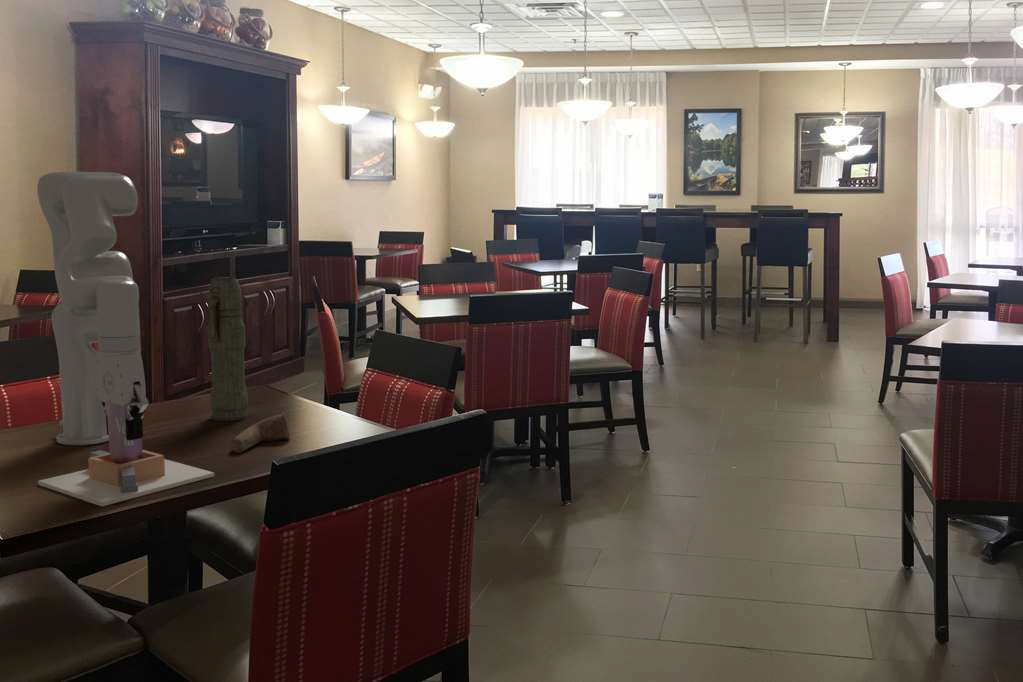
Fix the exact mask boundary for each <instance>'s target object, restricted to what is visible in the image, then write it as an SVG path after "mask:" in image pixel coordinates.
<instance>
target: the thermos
mask: <svg viewBox="0 0 1023 682" xmlns="http://www.w3.org/2000/svg"><path fill="white" fill-rule="evenodd" d="M210 281H211V282H210V284H209V287H208V303H207V318H208V321H207V322H208V325H207V340H208V349H209V352H210V360H211V361H210V362H211V366H210V367H211V388H210V392H209V394H210V408H211V419H212V420H214V421H219V422H220V421H221V422H231V421H239V420H244V419H246V418H248V417H249V413H248V408H249V396H248V395H249V392H248V389H247V386H246V379H245V378H246V376H245V348H246V345H247V344H246V327H245V324H244V320H243V301H242V300H243V299H242V288H241V285H240V283H239V280H238V278H235V277H234V276H215V277H214V278H211V280H210Z"/></svg>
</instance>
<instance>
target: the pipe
mask: <svg viewBox="0 0 1023 682" xmlns="http://www.w3.org/2000/svg"><path fill="white" fill-rule="evenodd" d="M290 439H291V435H290V431H289V428H288V424H287V418H286V414H285V412H281V413H279V414H276V415H272V416H269V417H266V418H264V419H262V420H260V421H257V422H255V423H254V424H252V425H251V426H249V427H247V428H246V429H245V430H243V431H242V432H240V433H238V435H237V436H235V438H233V440H232V441H231V443H230V448H231V450H232V451H233V452H234V453H243V452H245V451H247V450H248V449H250V448H253V447H254V446H255V445H258V444H259V443H261V442H274V441H275V442H276V441H283V440H287V441H289V440H290Z"/></svg>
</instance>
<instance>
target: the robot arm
mask: <svg viewBox="0 0 1023 682" xmlns="http://www.w3.org/2000/svg"><path fill="white" fill-rule="evenodd" d="M36 188H37V190H36V191H37V198H38V203H39V205H40V208H41V212H42V214H43V216H44V218H45V220H46V222H47V224H48V227H49V231H50V234H51V239H52V241H51V242H52V253H53V255H52V256H53V266H54V277H55V282H56V285H57V290H58V294H59V299H60V304H58V305H56V306H55V307H54V309H52V312H51V326H52V330H53V335H54V339H55V343H56V349H57V357H58V367H59V371H58V372H59V382H60V396H61V397H60V398H61V411H62V412H61V413H62V420H60V421H59V426H61V427H63V430H62V431H63V432H61V433H59V434H58V435H56V437H55V438H56V439H55V440H56V443H58V444H61V445H63V446H64V445H65V446H87V445H95V444H102V443H106V442H109V434H108V417H107V400H111V401H112V404H115V405H117V406H125V410H126V414H127V418H128V420H126V437H127V440H129V441H130V440H135V439H140V438H142V439H143V438H144V430H143V429H144V428H143V418H144V415H145V414H144V413H145V412H146V409H147V408H148V406H149V404H150V403H149V400H148V398H147V396H146V392H147V391H146V379H145V371H144V363H143V358H142V355H141V352H142V343H141V326H140V324H141V323H140V321H141V320H140V306H139V301H140V293H139V292H140V290H139V286H138V284H137V283H136V281H134V279H133V277H134V276H133V270H132V265H131V262H130V259H129V258H128V256H127V255H126V254H125V253H123V252H121V251H118V250H110V249H111V248H113V247H114V245H115V244H116V242H117V239H118V234H117V229H116V227H115V222H114V218H113V217H128V216H129V217H130V216H132V215H134V214H135V213H136V212H137V210H138V205H139V198H138V197H139V196H138V192H137V189H136V187H135V184H134V182H133V181H132V180H131V178H129V177H128V176H127V175H124V174H121V173H118V172H107V171H105V172H104V171H99V172H98V171H97V172H96V171H94V172H93V171H55V172H50V173H45V174H44V175H42V176H40V178H39V179H38V182H37V187H36ZM93 343H94V344H96V343H97V344H98V351H97V350H96V349H95V348H94V347H93V346H92V344H93ZM134 399H136V402H133V403H130V402H131V400H134ZM132 406H136V407H135V408H134V410H133V411H132V410H131V407H132Z"/></svg>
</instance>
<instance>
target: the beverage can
mask: <svg viewBox="0 0 1023 682" xmlns="http://www.w3.org/2000/svg"><path fill="white" fill-rule="evenodd" d="M133 402H136V399H134V400H131V402H130V403H133ZM135 407H136V406H132V407H131V410H132V411H133V410H134V408H135ZM107 417H108V434H109V441H108V447H109V453H110V462H112V463H116V464H123V463H127V462H132V461H136V460H140V459H143V451H142V450H143V437H142V438H140V439H135V440H130V441H129V440H127V437H126V420H128V418H127V414H126V410H125V406H117V405H115V404H112V401H111V400H107Z"/></svg>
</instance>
